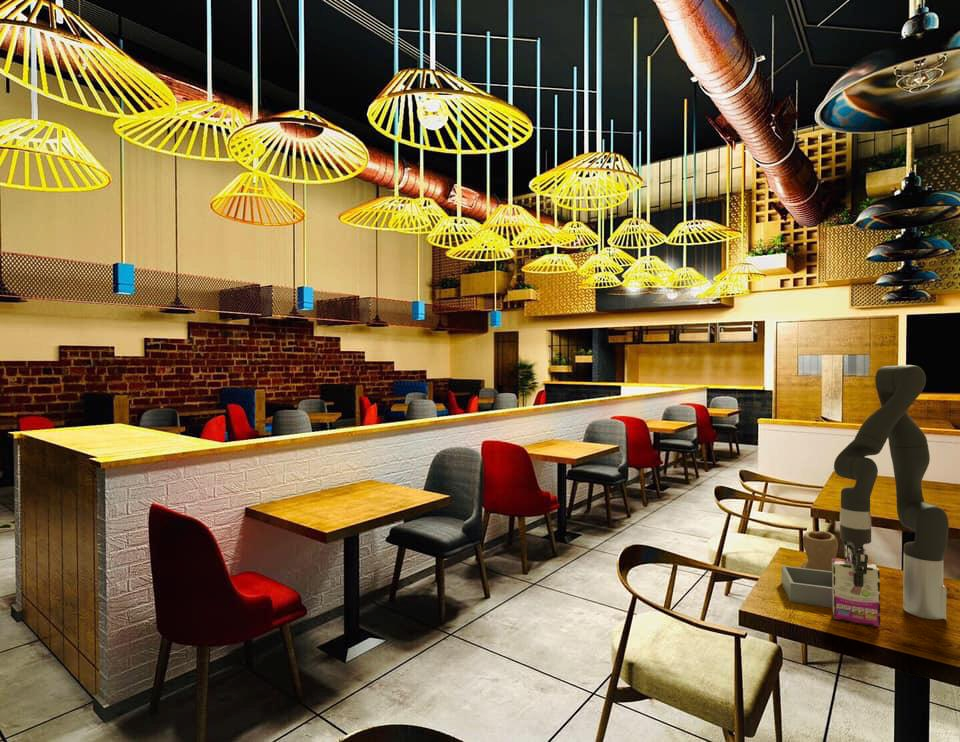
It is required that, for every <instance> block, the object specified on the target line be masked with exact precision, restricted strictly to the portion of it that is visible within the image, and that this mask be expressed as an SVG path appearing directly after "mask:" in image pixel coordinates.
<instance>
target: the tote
mask: <svg viewBox="0 0 960 742" xmlns="http://www.w3.org/2000/svg"><path fill="white" fill-rule="evenodd" d="M781 585H782V587H783V589H784V591H785V594H786V596H787V598H788V601H789V602H790V603H793V604H795V603H796V604H801V605H809V606H816V607H823V608H828V609H833V603H832V571H824V570H815V569H807V568H801V567H796V566H789V565H781Z"/></svg>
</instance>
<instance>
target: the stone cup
mask: <svg viewBox="0 0 960 742" xmlns="http://www.w3.org/2000/svg"><path fill="white" fill-rule="evenodd" d="M802 542H803V549H804V551H805V554H806V557H807V561H803V562H802V563H801V565H800V568H807V569H815V570H824V571H832V559H837V555H838V550H839V544H838V539H837V537H836V536H835V535H834V534H833V533H831V532H829V531H825V530H823V531H822V530H820V531H815V530H813V531H812V530H811V531H808V532H806V533H804V535H803V536H802Z"/></svg>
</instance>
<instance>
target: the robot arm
mask: <svg viewBox="0 0 960 742" xmlns="http://www.w3.org/2000/svg"><path fill="white" fill-rule="evenodd" d="M874 378H875V379H874V383H875V389H876V393H877V396H878V400H879V402H880V403H879V404H880V406H881V407H880V408H878V409H877V410H876V411H874V412H873V413H872V414H870V415H869V416H868V417H867V418H866V419H865V420H864V421H863V423H862V424H861V426H860V428H859V429H858V431H857V433H856V435H855V437H854V439H853V440H852V441H851V442H850V443H849V444H848V445H847V446H845V447H844V449H843V450H841V452H839V454H838V455H837V456H836V458H835V460H834V464H833V470H834V472H835V474H836V476H837V475H838V476H839V477H840V478H842V479H847V480H848V479H849V480H851V481H855V484H854V486H845V487H843V488H842V489H841V491H840V511H839V537H840V539H841V540H842V541H843V549H844V550H843V552H844V560H845V561H850V563H851V564H852V565H853V572H854V585H855V586H857V587H863V574H867V563H868V562H869V561H868V560H869V555H868V554H866V549H865V548H864V545H868V544H870V543H872V515H871V495H872V493H873V489H874V486H875V483H876V480H877V478H878V473H879V472H878V465H877V464H876V462H875V461H874V459H872V458H870V457H868V456H876V455H879V454H880V453H881V451H882V450H883V448H884V446H885V444H886V442H887V440H888V447H889V453H890V459H891V462H892V466H893V467H892V469H893V475H894V483H895V491H896V493H895V496H896V514H897V518H898V520H899V522H900V523H901V525H902V526H903V527H905V528H906V529H909V530H911V531H913V532H915V536H914V540H913V541H909V542H906V543H904V545H903V577H902V578H903V582H902V583H903V586H902V587H903V589H902V590H903V591H902V592H903V595H902V596H903V598H902V604H903V605H902V606H903V607H902V608H903V610H904V611H905V612H906V613H908V614H910V615H912V616H916V617H918V618H922V619H926V620H947V587H946V585H944V556H945V553H946V551H947V549H948V539H949V530H950V529H949V527H950V526H949V517H948V514H947V513H946V512H945V510H944V509H943V508H941V507H939V506H936V505H934V504H930V503H927V502H925V499H924V494H923V488H922V481H923V479H924V476H925V474H926V472H927V470H928V467H929V464H930V460H931V457H930V451H929V445H928V439H927V437H926V435H925V433H924V431H923V430H922V429H921V427H920V426H918V425H919V424H917V423H916V422H915V420H913V418H912V417H911V416H910V414H909V413H908V412H907V411H908V410H909V409H910V407H911V406H912V405H913V404H914V402H916V400H917V399H918V398H919V396H920V395H921V393H922V392H923V390H924V389H925V387H926V384H927V383H926V382H927V376H926V373H925V371H924V370H923V369H922V368H921V367H920V366H918V365H912V364H905V365H904V364H903V365H885V366H881V367H880V368H878V369H877V371H876V373H875V377H874ZM860 566H861V569H859V567H860Z"/></svg>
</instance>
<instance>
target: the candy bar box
mask: <svg viewBox="0 0 960 742" xmlns="http://www.w3.org/2000/svg"><path fill="white" fill-rule="evenodd" d="M859 569H861V566H860V567H859ZM880 573H881V571H880V568H879V567H878V565H877V563H876V564H875V563H867V574H863V587H857V586H855V585H854V572H853V565H852V564H851V563H850V561H845V559H844V560H843V559H837V558H836V559H832V603H833V608H832V615H833V618H834V620H839V621H844V622H850V623H857V624H861V625H862V624H863V625H868V626H873V627H881V575H880Z"/></svg>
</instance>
